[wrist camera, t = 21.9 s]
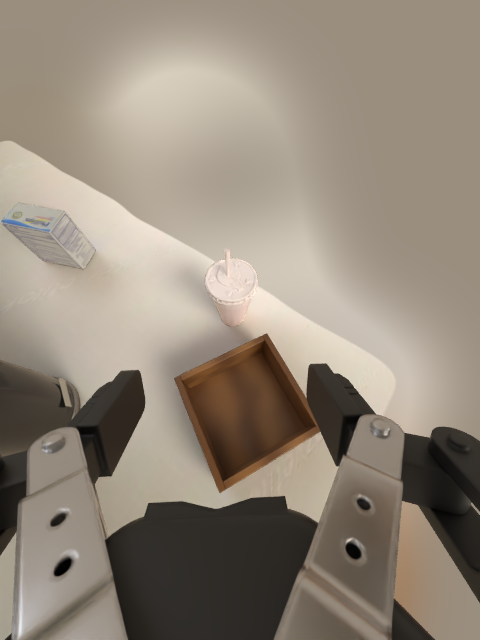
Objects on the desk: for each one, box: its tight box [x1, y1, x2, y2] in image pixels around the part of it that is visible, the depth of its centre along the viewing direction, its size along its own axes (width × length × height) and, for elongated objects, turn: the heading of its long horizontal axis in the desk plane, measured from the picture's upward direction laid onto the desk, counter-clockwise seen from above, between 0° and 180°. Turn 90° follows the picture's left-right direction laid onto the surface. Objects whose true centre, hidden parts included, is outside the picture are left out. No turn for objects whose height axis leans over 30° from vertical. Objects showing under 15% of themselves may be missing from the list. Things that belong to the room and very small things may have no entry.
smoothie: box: [205, 248, 258, 326], centre depth 31 cm, size 6×6×14 cm
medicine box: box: [1, 203, 96, 269], centre depth 39 cm, size 8×4×9 cm, turn 77°
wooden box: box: [174, 334, 320, 493], centre depth 29 cm, size 12×12×5 cm
